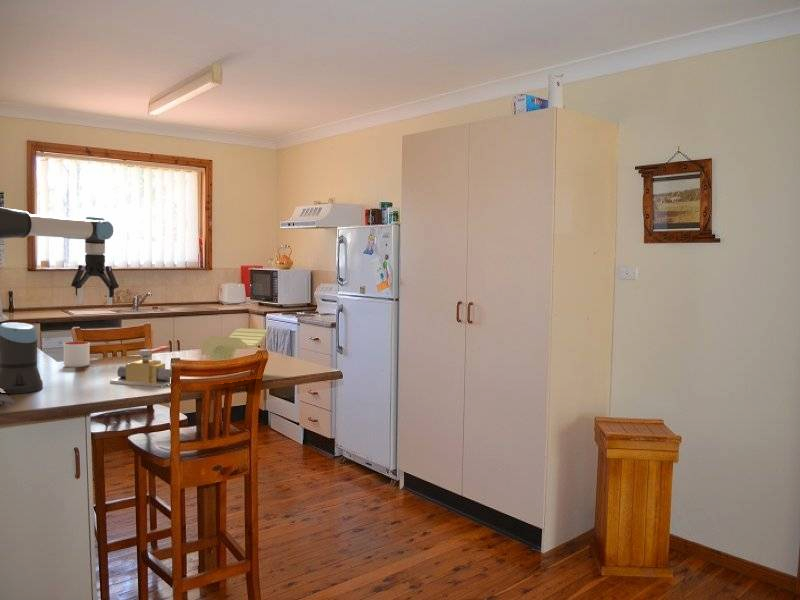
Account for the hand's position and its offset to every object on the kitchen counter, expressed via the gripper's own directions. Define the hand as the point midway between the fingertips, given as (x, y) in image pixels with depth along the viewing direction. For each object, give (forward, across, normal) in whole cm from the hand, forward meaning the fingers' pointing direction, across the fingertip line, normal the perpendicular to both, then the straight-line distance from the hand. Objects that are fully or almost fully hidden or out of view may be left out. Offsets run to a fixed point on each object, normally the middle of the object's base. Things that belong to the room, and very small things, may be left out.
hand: (94, 304), depth 266 cm
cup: (+28, +10, -2) cm, 29 cm away
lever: (+17, -36, +14) cm, 42 cm away
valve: (+27, -36, +21) cm, 49 cm away
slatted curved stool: (+27, -62, -4) cm, 67 cm away
